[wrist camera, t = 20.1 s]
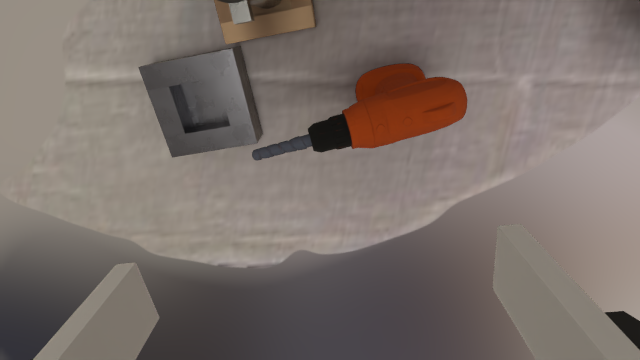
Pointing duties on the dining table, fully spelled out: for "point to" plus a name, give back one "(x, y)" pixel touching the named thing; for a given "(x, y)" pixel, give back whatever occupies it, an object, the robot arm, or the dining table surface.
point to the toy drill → (384, 112)
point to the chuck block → (203, 102)
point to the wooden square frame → (267, 20)
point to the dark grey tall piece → (247, 8)
